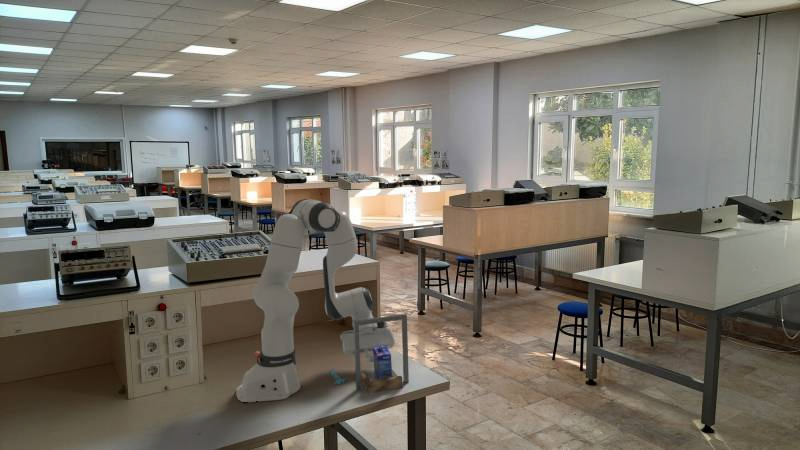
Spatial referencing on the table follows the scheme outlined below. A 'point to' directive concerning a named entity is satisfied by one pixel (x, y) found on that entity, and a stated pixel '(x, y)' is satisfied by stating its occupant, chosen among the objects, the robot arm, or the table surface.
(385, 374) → the ink cartridge box
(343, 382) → the adjustable wrench
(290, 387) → the robot arm
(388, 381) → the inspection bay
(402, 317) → the scanner arch
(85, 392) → the table surface
